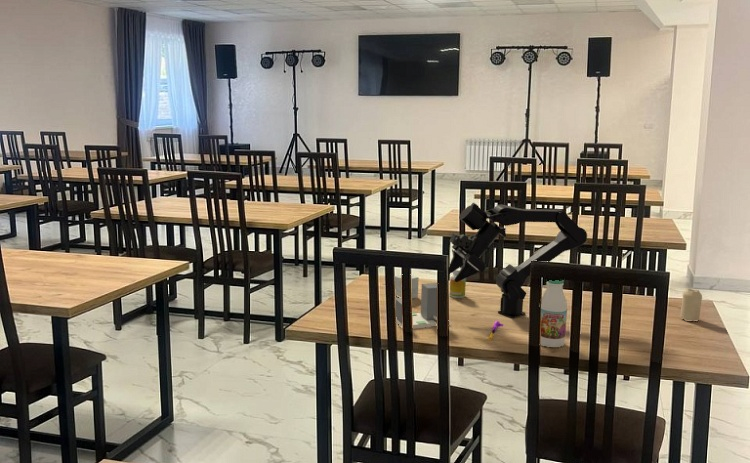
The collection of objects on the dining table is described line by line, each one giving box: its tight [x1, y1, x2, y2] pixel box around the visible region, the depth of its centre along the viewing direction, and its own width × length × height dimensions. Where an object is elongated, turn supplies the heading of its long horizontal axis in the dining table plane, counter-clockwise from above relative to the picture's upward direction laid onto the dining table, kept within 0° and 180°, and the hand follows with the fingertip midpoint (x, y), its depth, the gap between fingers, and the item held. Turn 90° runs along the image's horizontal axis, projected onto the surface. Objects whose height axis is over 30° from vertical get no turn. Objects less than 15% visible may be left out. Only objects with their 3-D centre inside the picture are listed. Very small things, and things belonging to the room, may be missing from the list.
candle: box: [679, 288, 703, 321], centre depth 223 cm, size 6×6×10 cm
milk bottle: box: [540, 279, 568, 348], centre depth 198 cm, size 8×8×20 cm
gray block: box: [420, 282, 438, 320], centre depth 216 cm, size 5×9×10 cm, turn 18°
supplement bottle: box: [449, 267, 467, 299], centre depth 243 cm, size 5×5×10 cm
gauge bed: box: [394, 297, 450, 330], centre depth 215 cm, size 15×10×7 cm, turn 108°
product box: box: [394, 274, 419, 300], centre depth 241 cm, size 6×6×7 cm
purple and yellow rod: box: [488, 320, 504, 342], centre depth 209 cm, size 3×1×16 cm
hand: (451, 277), depth 220 cm, fingers open, 9 cm apart
